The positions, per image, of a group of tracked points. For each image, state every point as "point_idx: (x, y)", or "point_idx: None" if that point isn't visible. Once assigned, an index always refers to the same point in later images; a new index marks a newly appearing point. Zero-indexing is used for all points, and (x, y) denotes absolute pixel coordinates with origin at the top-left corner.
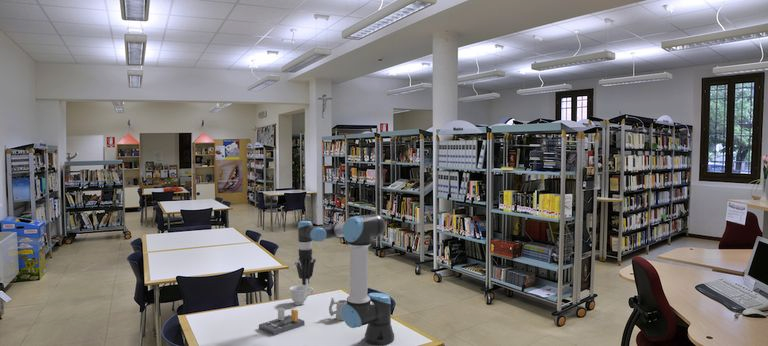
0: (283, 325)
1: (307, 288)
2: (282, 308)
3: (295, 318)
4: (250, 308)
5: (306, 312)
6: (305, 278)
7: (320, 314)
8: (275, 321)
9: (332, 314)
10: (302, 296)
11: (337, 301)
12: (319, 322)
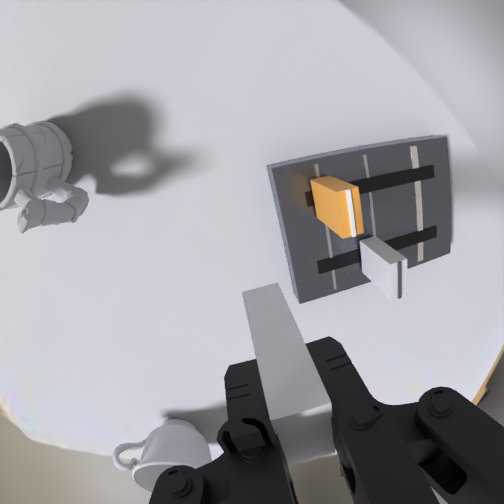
0: (391, 172)
1: (261, 303)
2: (391, 280)
3: (334, 178)
4: None
5: (181, 337)
6: (356, 416)
7: (124, 277)
8: (395, 247)
9: (77, 188)
10: (169, 441)
11: (9, 191)
12: (172, 161)
